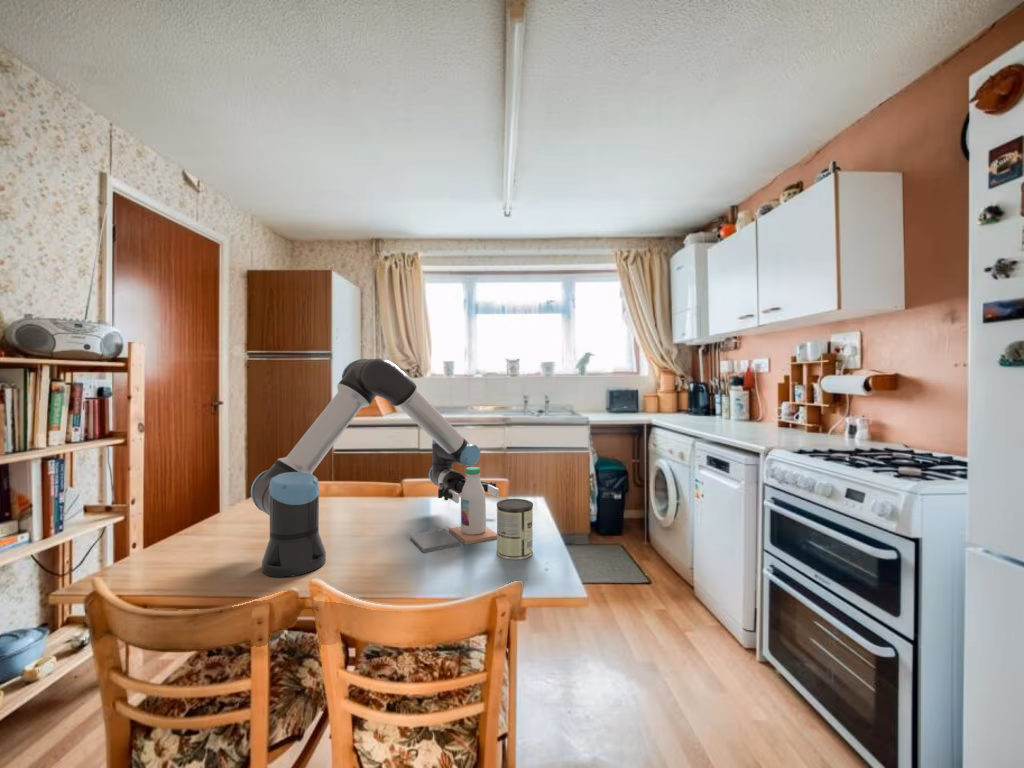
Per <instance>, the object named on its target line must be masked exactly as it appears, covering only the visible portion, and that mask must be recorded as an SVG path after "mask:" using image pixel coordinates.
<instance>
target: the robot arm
mask: <svg viewBox="0 0 1024 768" xmlns="http://www.w3.org/2000/svg"><path fill="white" fill-rule="evenodd" d="M336 388H337V393H336V394H335V396H334V397H333V398H332V399H331V400H330V402H329V403H328V404H327V405H326V407H325V408H324V409H323V411H322V412H320V414H319V416H318V417H317V418H316V419H315V420H314V422H313V423H312V424H311V426H310V427H309V428H308V429H307V430H306V432H305V433H304V434H303V436H301V438H300V439H299V441H298V442H297V443H296V444H295V445H294V446H293V448H292V449H291V450H290V452H289V453H288V454H287V456H285V457H279V458H278V459H276V461H275V462H273V464H272V466H271V467H270V468H269V469H267V470H264V471H262V472H261V473H260V474H258V475H257V476H256V477H255V479H254V480H253V482H252V484H251V488H250V497H251V500H252V501H253V504H254V505H255V506H256V507H257V509H258V510H259V511H262V513H265V514H266V515H268V516H269V541H268V543H267V546H266V549H265V553H264V555H263V557H262V560H261V561H262V562H261V571H262V573H263V574H264V575H265V576H267V577H269V576H270V577H273V578H274V577H276V578H285V577H284V576H290V577H293V576H292V575H297V576H299V575H298V574H301V575H304V574H303V573H305V574H308V573H311V572H314V571H316V570H318V569H320V568H321V567H323V566H324V565H325V564H326V562H325V561H327V558H326V557H327V554H326V553H327V552H326V549H325V547H324V544H323V541H322V538H321V535H320V532H319V531H320V529H319V527H320V526H319V524H320V523H319V522H320V521H319V520H320V519H319V518H320V517H319V516H320V486H319V480H318V478H317V476H315V475H314V474H313V473H314V472H315V470H316V469H317V467H318V466H319V464H321V462H322V461H323V459H324V458H325V456H326V455H327V454H328V452H329V451H330V450H331V449H332V448H333V446H334V445H335V443H337V441H338V439H340V437H341V435H342V434H343V433H344V432H345V431H346V429H347V428H348V427H349V425H350V424H351V422H352V421H353V420H354V418H355V417H356V416H357V414H358V413H359V412H360V411H361V409H363V408H369V407H370V405H371V404H372V402H373V401H374V400H375V398H377V397H380V398H382V399H385V400H386V401H387V402H389V403H390V404H391V405H392V406H394V407H398V408H400V409H401V410H402V411H403V412H404V414H406V415H407V416H409V418H411V420H412V421H413V422H414V423H415V424H416V425H418V427H420V428H421V429H422V430H423V431H424V432H425V433H426V434H427V435H428V436H429V437H430V439H432V444H431V453H432V457H431V458H432V464H431V467H430V469H429V472H428V478H429V480H430V481H431V482H432V483H433V485H434V486H436V487H437V486H438V487H439V488H438V490H437V493H438V494H437V498H438V499H442V498H443V497H444V498H443V500H444V501H448V500H450V501H453V503H455V504H459V503H460V494H461V493H462V489H463V486H464V484H465V481H466V476H464V474H462V473H460V472H458V471H457V470H454V464H458V465H462V466H465V467H466V466H468V467H475V466H476V465H477V464H478V462H480V461H479V460H480V458H481V455H482V453H481V449H480V447H479V446H478V445H477V444H474V443H469V442H468V441H467V440H466V439H465V438H464V437H463V436H462V435H461V433H460V432H458V430H456V428H454V427H453V425H452V424H451V423H450V422H449V421H448V420H447V419H446V418H445V417H444V416H443V415H442V414H441V413H440V412H439V411H438V410H437V408H435V407H434V406H433V404H431V403H430V401H428V400H427V399H426V398H425V396H423V394H421V392H419V390H418V385H417V383H416V382H415V381H414V380H413V379H412V378H411V377H410V376H409V375H408V374H407V373H406V372H405V371H404V370H403V369H401V368H400V367H399V366H398V365H397V364H395V363H394V362H392V361H390V360H388V359H386V358H369V359H368V358H360V359H357V360H354V361H352V362H349V363H348V364H347V365H346V366H345V367H344V369H343V371H342V374H341V379H340V381H339V383H337V385H336ZM480 481H481V484H482V486H483V488H484V491H485V493H487V494H489V495H491V496H493V497H494V498H497V499H498V498H499V497H500V488H498V487H497V483H496V482H493V481H485V480H480ZM323 564H324V565H323ZM322 565H323V566H322ZM319 567H320V568H319ZM317 568H318V569H317ZM315 569H316V570H315ZM313 570H314V571H313ZM310 571H311V572H310ZM307 572H308V573H307Z"/></svg>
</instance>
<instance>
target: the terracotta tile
mask: <svg viewBox="0 0 1024 768" xmlns="http://www.w3.org/2000/svg"><path fill="white" fill-rule="evenodd" d="M449 533H450V534H453V535H454V536H455V537H456V538H457V539H459V540H460V541H461V542H462V543H464V544H465V545H469V544H476V543H481V542H485V541H490V540H497V532H495V531H494V530H492V529H491V528H489V527H487V526H486V530H485V532H483V533H481V534H476V535H469V534H465V533H463V532H462V530H461V525H460V526H454V527H449Z"/></svg>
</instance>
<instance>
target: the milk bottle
mask: <svg viewBox="0 0 1024 768" xmlns="http://www.w3.org/2000/svg"><path fill="white" fill-rule="evenodd" d="M464 473H465V478H466V481H465V484H464V486H463V489H462V492H461V493H460V494H461V495H460V519H461V520H460V526H461V530H462V532H463V533H465V534H469V535H476V534H481V533H483V532H485V530H486V527H487V520H486V519H487V515H486V514H487V511H486V508H487V507H486V492H485V491H484V488H483V486H482V484H481V481H482V480H481V479H480V476H481V468H480V467H478V466H468V467H466V468H465V471H464Z"/></svg>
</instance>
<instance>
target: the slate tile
mask: <svg viewBox="0 0 1024 768" xmlns="http://www.w3.org/2000/svg"><path fill="white" fill-rule="evenodd" d="M409 539H410V540H411V539H412V540H413V541H414V542H415V543H416V544H417V545H416V544H415V543H414V544H415V545H416V547H418V548H419V550H421V551H422V552H423V553H427V552H432V551H438V550H443V549H448V548H453V547H459V546H460V544H461V543H460V541H459V540H458V539H456V538H455V537H454V536H453V535H452V534H451V533H450V532H448V531H447V530H446V529H444V528H442V529H436V530H431V531H424V532H418V533H413V534H409ZM412 540H411V541H412ZM413 541H412V542H413Z"/></svg>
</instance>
